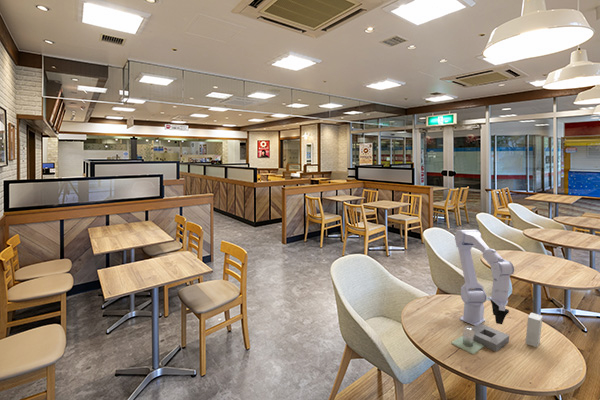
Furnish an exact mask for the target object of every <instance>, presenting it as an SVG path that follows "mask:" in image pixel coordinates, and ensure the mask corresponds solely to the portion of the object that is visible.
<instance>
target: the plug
mask: <svg viewBox="0 0 600 400" xmlns="http://www.w3.org/2000/svg"><path fill="white" fill-rule="evenodd" d="M473 327H474V326H470V325H465V326H464V327H463V334H462V335H463V344H464V345H465V346H468V347H473V345H474V334H475V329H474V328H473Z"/></svg>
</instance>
